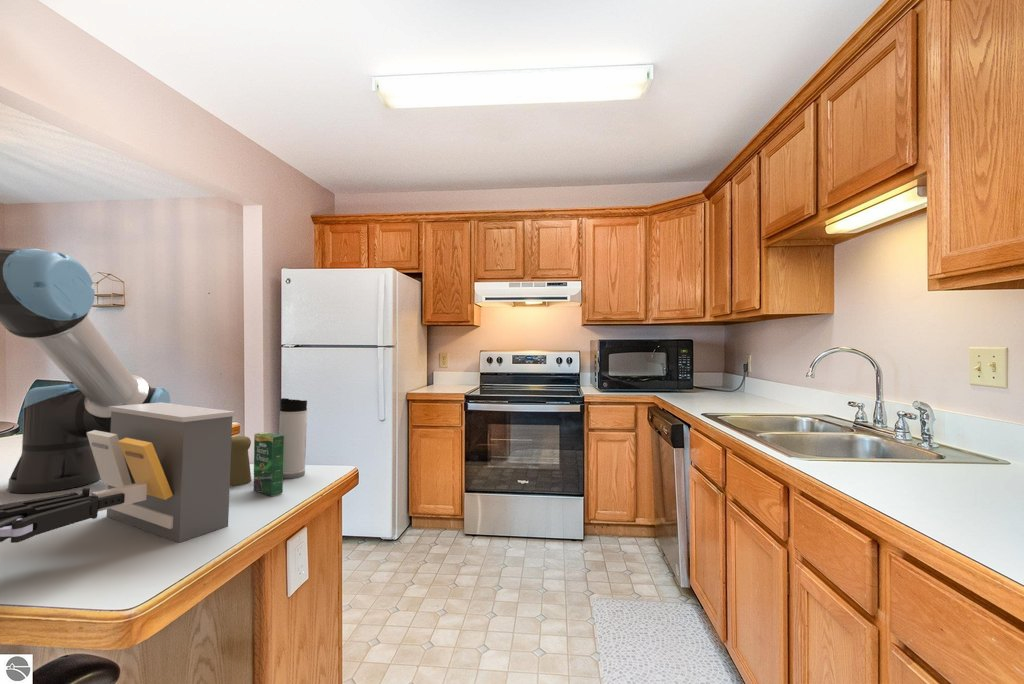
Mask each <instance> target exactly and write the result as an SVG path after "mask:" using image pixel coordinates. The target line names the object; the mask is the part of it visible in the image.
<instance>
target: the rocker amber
mask: <svg viewBox="0 0 1024 684" xmlns="http://www.w3.org/2000/svg"><path fill="white" fill-rule="evenodd" d="M118 443H119V445H120V448H121V450H122V452H123V455H124V457H125V459H126V462H127V464H128V466H129V469H130V471H131V473H132V476H133V478H134V480H135V483H141V482H143V483H147V495H150V496H154V497H157V498H160V499H164V500H166V499H168V498H170V497H171V496H173V494H172V491H171V489H170V486H169V484H168V481H167V479H166V476H165V474H164V471H163V469H162V466H161V464H160V461H159V459H158V456H157V454H156V452H155V449H154V447H153V444H152V443H151V442H146V441H141V440H136V439H131V438H124V439H122V440H119V441H118Z"/></svg>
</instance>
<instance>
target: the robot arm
mask: <svg viewBox="0 0 1024 684" xmlns="http://www.w3.org/2000/svg"><path fill="white" fill-rule="evenodd" d="M92 279H93V278H92V277H91V275H90V274H89V272H88V271H87V269H86V267H85V266H84V265H83V264H82V263H81V262H79V260H77V259H75V258H74V257H72V256H70V255H68V254H67V253H66V254H65V253H62V252H58V251H51V250H50V251H49V250H45V249H41V248H32V247H31V248H15V247H14V248H13V247H0V324H1V325H2V326H3V327H4V329H6V330H7V331H8V332H9V334H10V333H11V334H12V335H13V336H16V337H18V338H22V339H30V340H32V341H33V343H34V344H35V345H36V346H37V347H38V348H39V349H40V350H41V351H42V352H43V353H44V354H45V356H47V357H48V358H49V359H50V360H51V361H52V362H53V364H54V365H55V366H56V367H57V368H58V369H60V371H61V372H62V373H63V374H64V375H65V377H67V378H68V380H70V382H71V383H69V384H68V383H67V384H58V385H50V386H38V387H34V388H31V389H29V390H28V391H26V394H25V396H24V404H23V407H22V410H23V415H22V416H23V419H22V421H23V422H22V441H21V442H22V443H21V454H20V457H19V458H18V460H17V463H16V465H15V467H14V468H13V471H12V473H11V475H10V477H9V478H8V482H7V483H8V484H7V485H8V487H7V488H8V489H7V491H8V492H9V493H14V494H15V493H16V494H34V493H35V494H36V493H45V492H54V491H61V490H68V489H73V488H77V487H82V486H86V485H89V484H93V483H96V482H97V481H101V478H100V475H99V471H98V468H97V465H96V462H95V459H94V456H93V452H92V449H91V446H90V443H89V440H88V437H87V432H90V431H93V430H97V431H102V432H108V433H110V431H111V411H109V406H122V405H134V404H147V403H159V402H162V403H170V404H171V395H170V392H169V391H168V389H167V388H164V387H160V386H156V387H151V386H150V385H149V383H148V382H147V380H146V379H145V378H143V377H141V376H139V375H136V374H132V373H130V371H129V370H128V369H127V367H126V366H125V364H124V363H123V362H122V361H121V359H120V358H119V357H118V355H117V354H116V352H114V350H113V349H112V347H111V346H110V344H108V343H109V342H107V341H106V339H105V337H103V335H102V334H101V332H100V331H99V330H98V328H96V326H95V325H94V323H93V322H92V321H91V319H90V318H89V314H90V311H91V309H92V307H93V305H94V302H95V295H96V294H95V289H94V288H93V287H92V286H93V285H94V282H93V280H92ZM81 491H82V493H80V494H79V492H77V491H76V492H71V493H64V494H58V495H53V496H52V495H51V496H46V497H40V498H35V499H34V498H33V499H28V500H21V501H16V502H9V503H2V504H0V543H3V542H4V541H5V540H7V539H10V543H13V544H14V543H15V544H16V543H21V542H23V541H26V540H29V539H31V538H32V537H34V536H37V535H40V534H43V533H44V534H45V533H47V532H52V531H54V530H57V529H61V528H64V527H67V526H71V525H73V524H76V523H79V522H83V521H86V520H90V519H93V520H95V519H97V518H98V512H102V511H107V509H111V508H115V507H119V506H123V505H127V504H131V503H136V502H140V501H144V500H146V494H147V483H143V482H141V483H136V484H131V485H126V486H121V487H117V488H112V489H108V488H106V489H103V490H97V491H93V492H91V493H90V488H88V487H87V488H82V489H81ZM90 494H91V495H90Z"/></svg>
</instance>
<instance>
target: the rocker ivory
mask: <svg viewBox="0 0 1024 684" xmlns="http://www.w3.org/2000/svg"><path fill="white" fill-rule="evenodd" d="M87 437H88V440H89V443H90V446H91V449H92V452H93V456H94V459H95V462H96V465H97V468H98V471H99V475H100V478H101V479H100V481H101V484H104V485H107V486H108V485H110V486H114V487H121V486H126V485H131V484H132V482H131V479H130V476H129V472H128V469H127V466H126V462H125V459H124V456H123V452H122V450H121V448H120V445H119V443H118V441H119V439H118V436H117V434H113V433H108V432H102V431H97V430H93V431H90V432H87Z"/></svg>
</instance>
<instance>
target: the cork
mask: <svg viewBox="0 0 1024 684" xmlns="http://www.w3.org/2000/svg"><path fill="white" fill-rule="evenodd" d="M251 445H252V441H251V438H250V437H248V436H245V435H237V436H232V441H231V466H230V487H237V486H243V485H247V484H250V483H251V482H252V475H251V474H252V473H251V465H250V456H249V455H250V454H249V449H250V448H251Z"/></svg>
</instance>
